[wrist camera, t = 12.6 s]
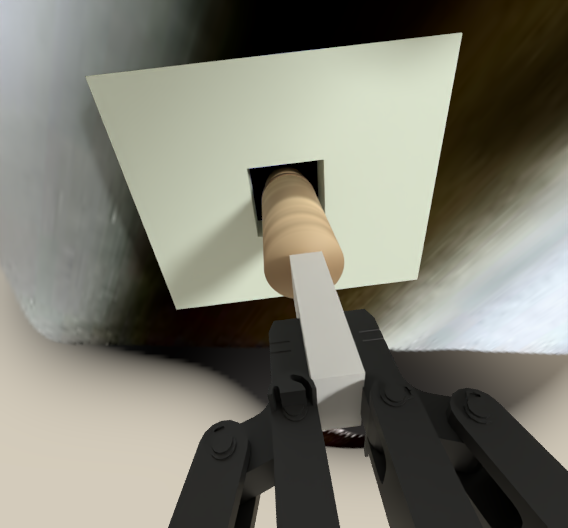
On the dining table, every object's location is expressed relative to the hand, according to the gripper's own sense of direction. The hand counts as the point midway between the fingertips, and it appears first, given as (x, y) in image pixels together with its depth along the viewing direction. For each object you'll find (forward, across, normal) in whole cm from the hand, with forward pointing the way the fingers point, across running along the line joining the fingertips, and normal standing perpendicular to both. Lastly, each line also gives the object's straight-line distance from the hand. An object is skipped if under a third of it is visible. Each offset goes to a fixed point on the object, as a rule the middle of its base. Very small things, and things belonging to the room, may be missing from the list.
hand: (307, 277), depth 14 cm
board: (+13, 0, 0) cm, 13 cm away
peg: (+13, 0, 0) cm, 13 cm away
